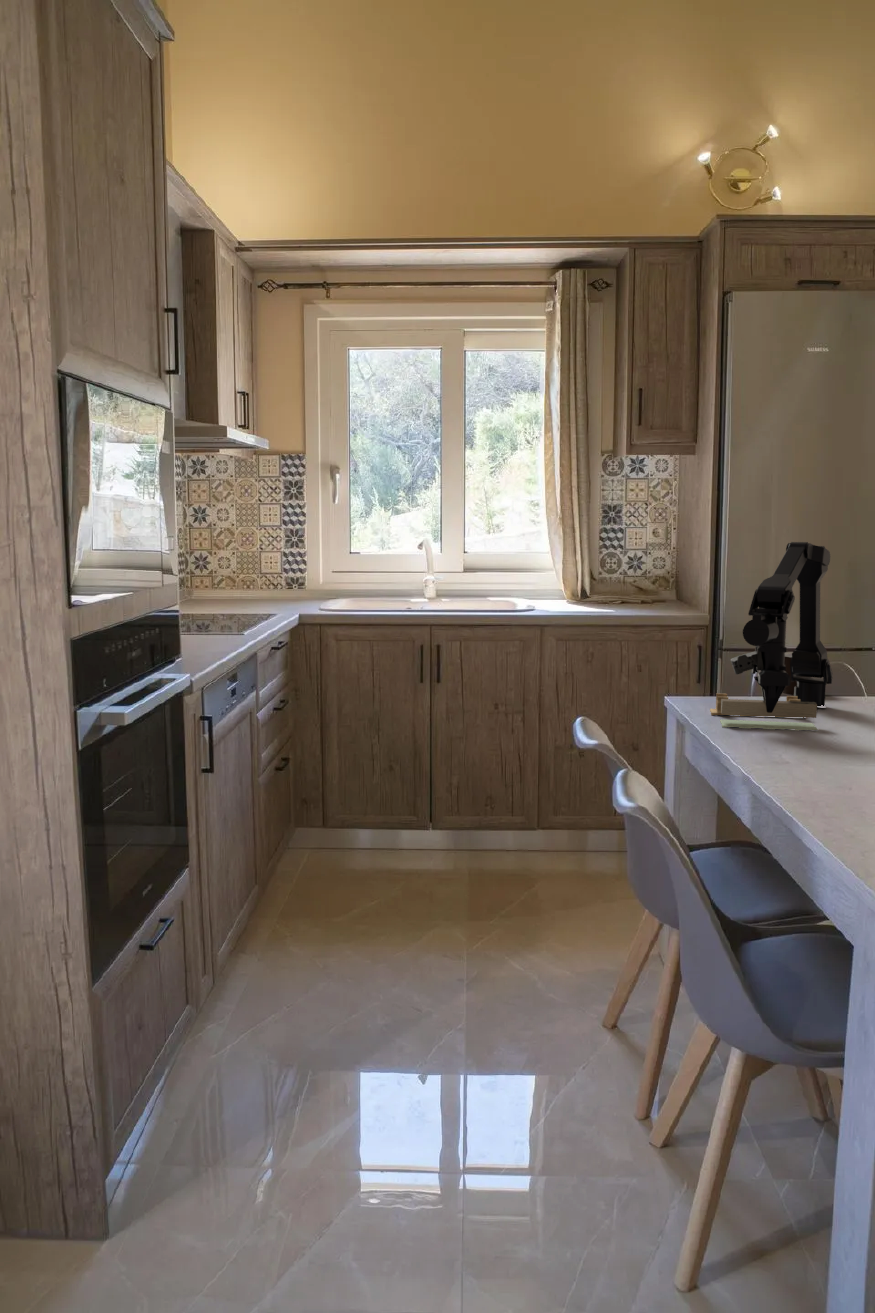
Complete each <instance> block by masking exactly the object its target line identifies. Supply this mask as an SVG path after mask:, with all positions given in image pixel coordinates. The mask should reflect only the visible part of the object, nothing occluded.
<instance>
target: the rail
mask: <svg viewBox="0 0 875 1313" xmlns="http://www.w3.org/2000/svg"><path fill="white" fill-rule="evenodd" d="M817 710H818V708H817V704H816V703H815V702H797V701H786V700H778V702H777V704H776V706H775V708H774V710H773V712H772V713H768V712H767V710H766V703H765V700H763V699H761V700H760V699H738V698H736V699H734V698H728V699H721V714H727V715H753V716H780V717H806V718H809V719H810V718H811V719H812V718H813V719H814V718H815V719H816V718H817V712H818V711H817Z"/></svg>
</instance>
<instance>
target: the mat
mask: <svg viewBox="0 0 875 1313" xmlns="http://www.w3.org/2000/svg"><path fill="white" fill-rule="evenodd" d="M719 721H720V725H721V724H722V725H721V727H722V728H727V727H739V728H738V729H751V728H763V729H762V730H775V729H795V730H794V731H799V730H818V731H819V729H818V728H817V726H816V725H815V724H814V722H795V721H790V722H789V721H771V720H770V721H767V720H763V721H762V720H745V719H741V720H740V719H720V720H719Z"/></svg>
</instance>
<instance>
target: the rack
mask: <svg viewBox="0 0 875 1313" xmlns="http://www.w3.org/2000/svg"><path fill="white" fill-rule="evenodd" d="M715 694H716V695H715V696H716V698H715V708H709V712H711V713H710V715H711V716H713V715H727V714H721V699H729V696H728V694H727V693H718V692H717V693H715ZM785 701H797V702H800V699H798V696H794V695H786V699H785ZM740 716H753V715H740ZM775 717H780V716H775ZM803 718H804V717H803Z"/></svg>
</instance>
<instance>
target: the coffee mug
mask: <svg viewBox="0 0 875 1313" xmlns="http://www.w3.org/2000/svg"><path fill="white" fill-rule="evenodd" d="M792 653H793V652H792ZM792 653H787V652H786V653H785V661H784V665H785V666H786V670H785V672H786V673H787V674H788V675H789V676H790V677H791V669H790V662H791V659H792ZM800 677H805V676H800ZM795 686H797V681H791V679H790V686H786V687H785V689H784V690H783V692H782V694H787V695H792V696H794V687H795Z"/></svg>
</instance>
